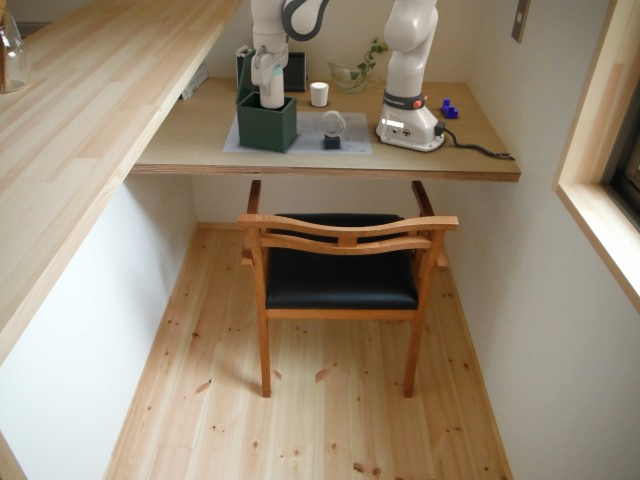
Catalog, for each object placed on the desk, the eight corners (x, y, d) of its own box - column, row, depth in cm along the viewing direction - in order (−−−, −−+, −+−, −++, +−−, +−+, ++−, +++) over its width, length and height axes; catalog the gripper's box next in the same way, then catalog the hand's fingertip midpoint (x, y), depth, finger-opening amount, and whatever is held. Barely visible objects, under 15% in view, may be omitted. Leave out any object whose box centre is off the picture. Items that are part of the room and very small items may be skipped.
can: (262, 111, 137) (259, 70, 129) (259, 101, 142) (257, 62, 135) (285, 109, 138) (284, 69, 130) (282, 100, 143) (280, 61, 136)
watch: (345, 148, 145) (347, 115, 138) (320, 149, 144) (321, 115, 137) (343, 140, 149) (345, 107, 142) (318, 141, 148) (319, 108, 141)
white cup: (331, 102, 173) (332, 84, 169) (321, 108, 168) (322, 90, 164) (316, 98, 176) (316, 80, 171) (306, 104, 171) (306, 85, 167)
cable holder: (456, 118, 165) (459, 107, 162) (447, 118, 164) (449, 107, 162) (450, 109, 171) (453, 98, 168) (441, 109, 171) (443, 98, 168)
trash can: (296, 135, 151) (296, 97, 143) (283, 152, 142) (282, 113, 134) (255, 128, 154) (253, 91, 146) (240, 145, 145) (236, 106, 137)
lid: (264, 43, 136) (249, 36, 136) (247, 55, 126) (231, 48, 126) (254, 90, 146) (239, 84, 146) (237, 105, 136) (222, 98, 136)
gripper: (265, 53, 120) (268, 104, 129) (291, 33, 135) (292, 80, 144) (243, 51, 121) (247, 101, 130) (271, 31, 137) (273, 78, 145)
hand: (271, 90), depth 137 cm, fingers closed on can, 7 cm apart
